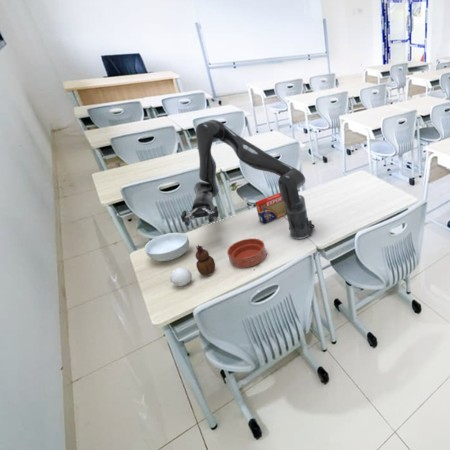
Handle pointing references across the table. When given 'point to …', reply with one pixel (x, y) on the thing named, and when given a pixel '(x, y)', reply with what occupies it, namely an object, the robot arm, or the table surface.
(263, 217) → the toy box
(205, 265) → the wooden figurine
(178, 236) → the cereal bowl
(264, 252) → the bowl
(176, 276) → the white oval solid
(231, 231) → the table surface
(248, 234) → the table surface
